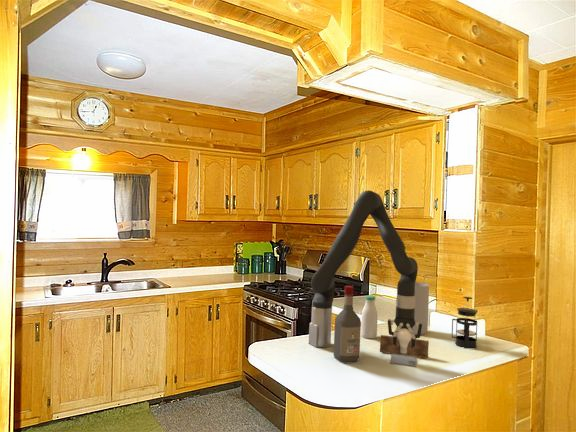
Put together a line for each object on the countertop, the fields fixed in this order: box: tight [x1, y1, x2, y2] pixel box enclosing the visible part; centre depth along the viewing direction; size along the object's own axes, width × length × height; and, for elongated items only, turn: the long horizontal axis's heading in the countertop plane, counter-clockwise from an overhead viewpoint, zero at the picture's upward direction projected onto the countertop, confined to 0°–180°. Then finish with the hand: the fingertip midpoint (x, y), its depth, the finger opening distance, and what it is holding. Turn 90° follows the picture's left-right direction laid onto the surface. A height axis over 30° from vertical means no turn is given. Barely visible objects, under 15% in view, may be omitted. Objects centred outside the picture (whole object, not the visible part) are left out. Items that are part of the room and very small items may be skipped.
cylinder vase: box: [412, 282, 430, 336], centre depth 210 cm, size 12×12×25 cm
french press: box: [451, 296, 478, 349], centre depth 190 cm, size 12×9×23 cm
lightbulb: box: [396, 328, 412, 354], centre depth 166 cm, size 6×6×11 cm
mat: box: [389, 353, 417, 368], centre depth 166 cm, size 10×10×1 cm
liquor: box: [333, 285, 361, 364], centre depth 166 cm, size 9×9×30 cm
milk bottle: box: [360, 295, 378, 340], centre depth 198 cm, size 8×8×20 cm
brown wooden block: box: [379, 334, 429, 360], centre depth 174 cm, size 20×5×7 cm, turn 73°
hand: (403, 346), depth 166 cm, fingers closed on lightbulb, 6 cm apart
